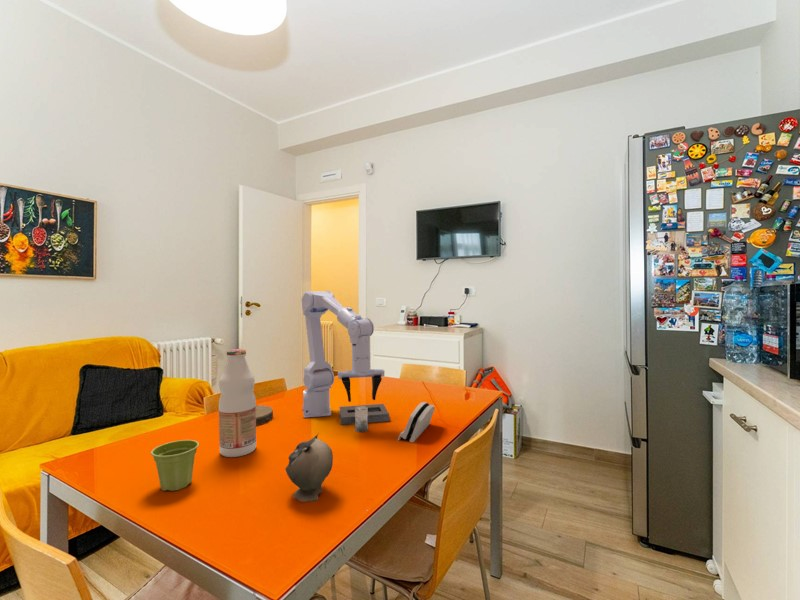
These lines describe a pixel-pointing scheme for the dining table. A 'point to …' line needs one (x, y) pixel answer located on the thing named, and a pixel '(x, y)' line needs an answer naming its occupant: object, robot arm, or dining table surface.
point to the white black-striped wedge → (418, 421)
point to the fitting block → (374, 414)
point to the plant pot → (175, 463)
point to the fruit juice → (237, 407)
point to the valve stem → (361, 419)
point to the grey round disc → (263, 414)
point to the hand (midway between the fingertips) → (361, 400)
